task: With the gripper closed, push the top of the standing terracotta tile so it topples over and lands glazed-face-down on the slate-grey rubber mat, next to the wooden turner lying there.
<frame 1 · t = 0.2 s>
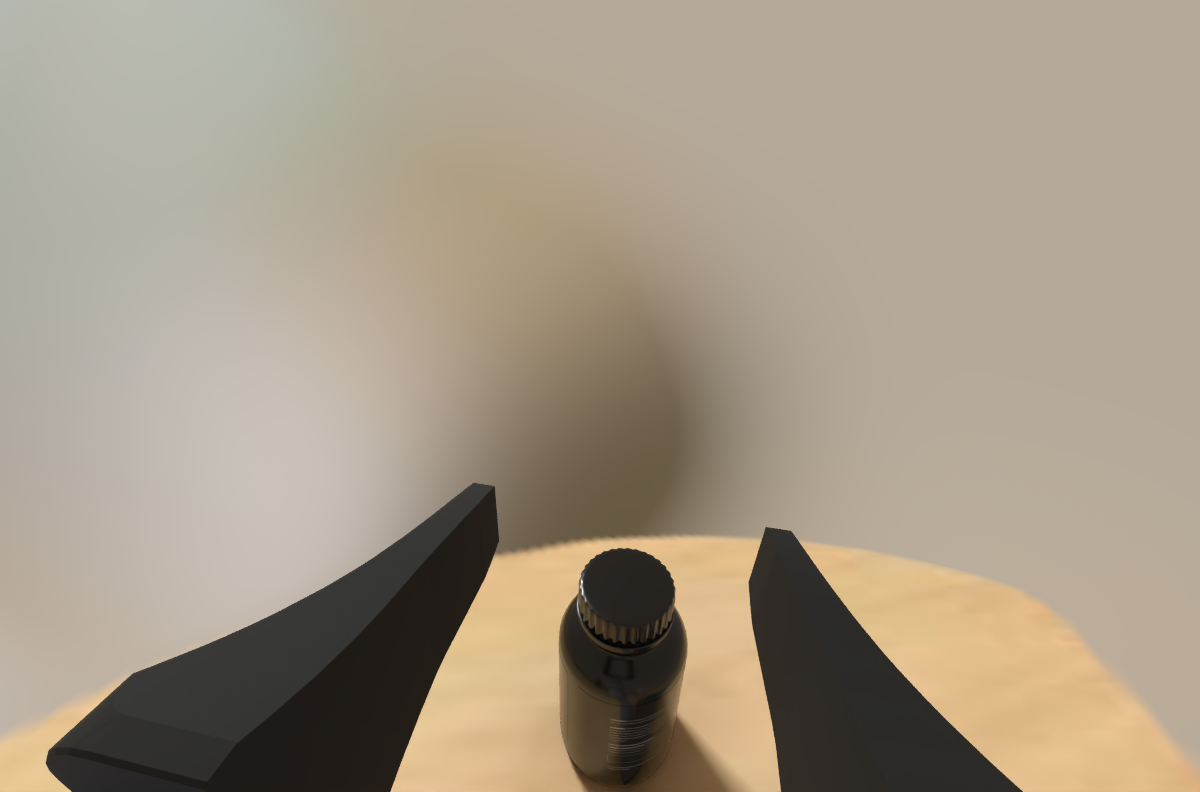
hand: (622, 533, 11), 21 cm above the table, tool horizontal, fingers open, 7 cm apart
supplement bottle: (614, 723, 26), on the table
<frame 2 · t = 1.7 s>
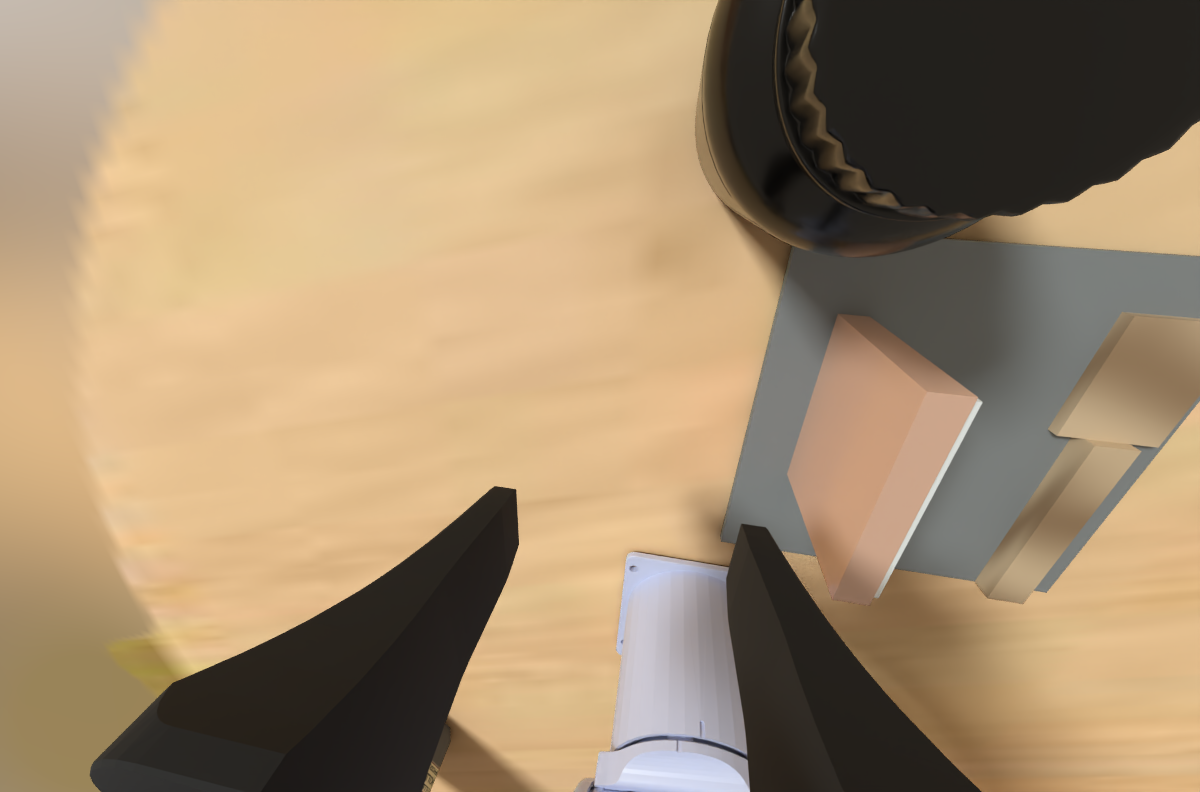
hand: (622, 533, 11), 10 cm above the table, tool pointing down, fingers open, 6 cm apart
mat: (936, 432, 19), on the table
turner: (1069, 473, 19), resting on mat
tile: (827, 403, 19), resting on mat
supplement bottle: (791, 117, 15), on the table
liquor: (402, 713, 40), on the table
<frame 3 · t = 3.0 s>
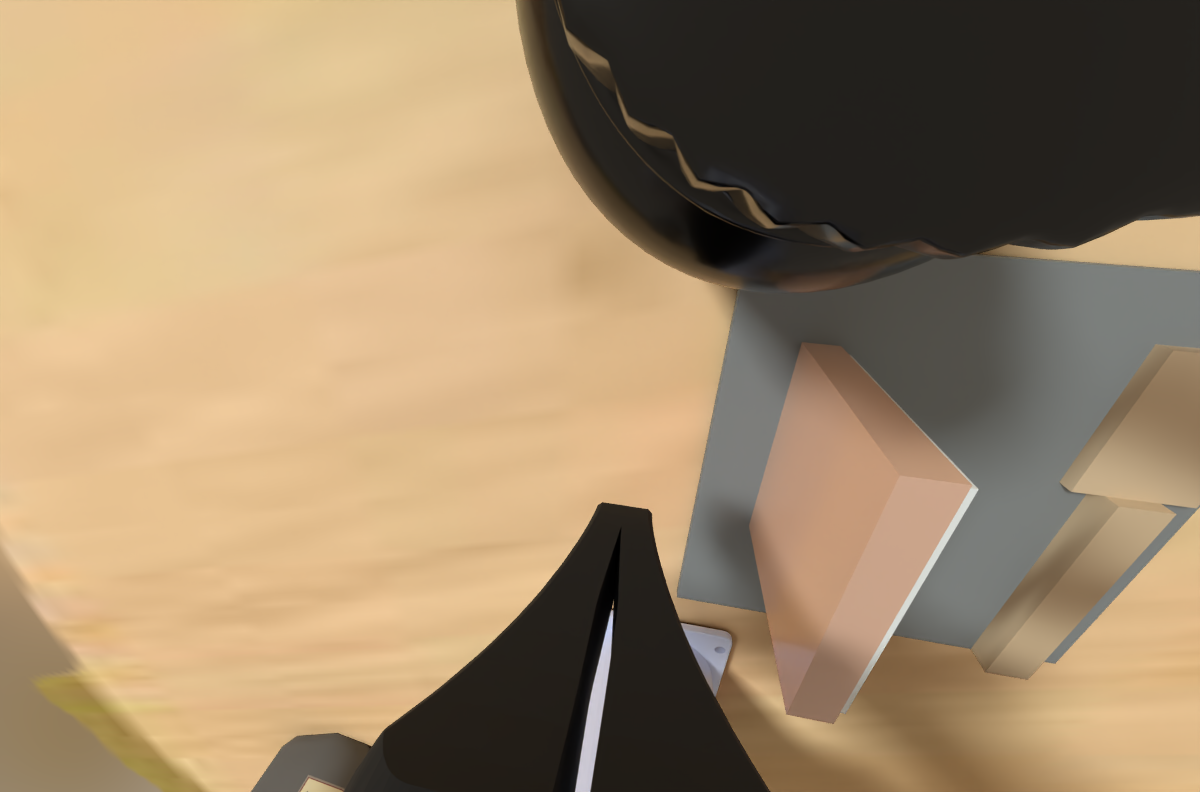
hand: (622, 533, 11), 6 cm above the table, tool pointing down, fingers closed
mat: (924, 482, 16), on the table
turner: (1084, 533, 15), resting on mat
tile: (793, 447, 16), resting on mat
supplement bottle: (737, 97, 12), on the table
liquor: (349, 759, 37), on the table
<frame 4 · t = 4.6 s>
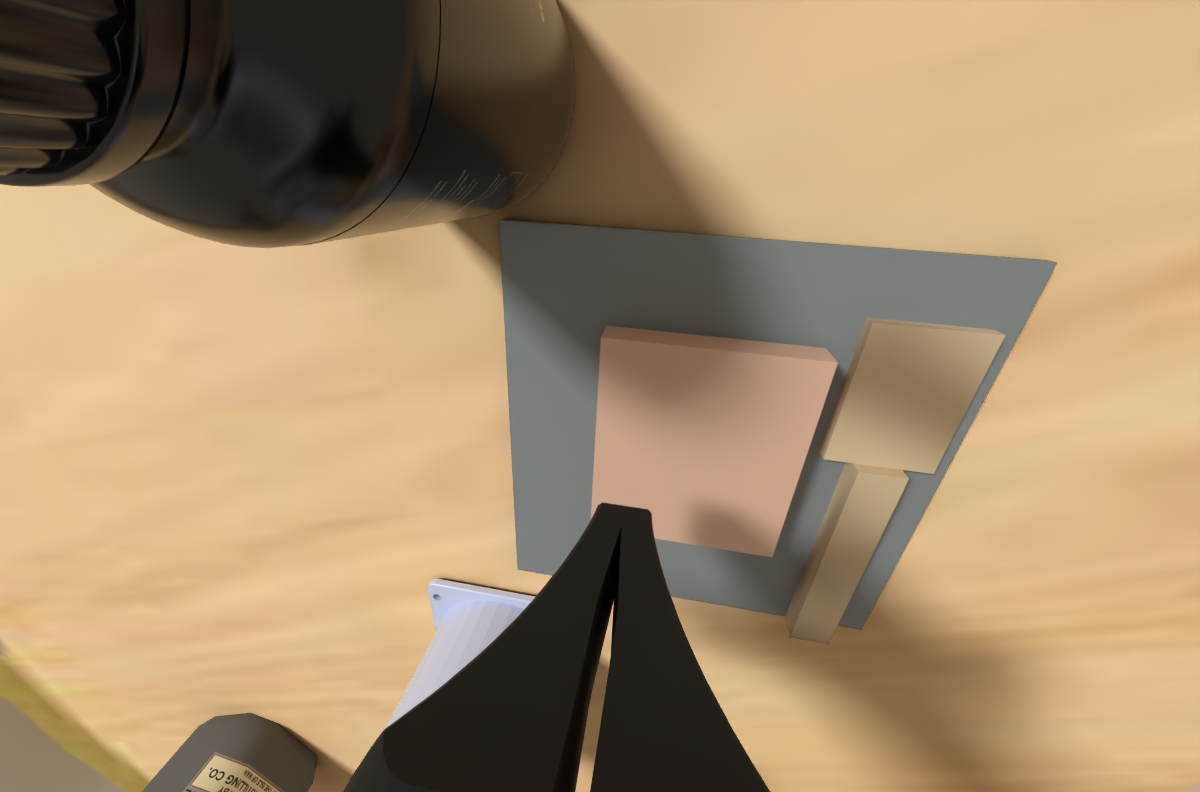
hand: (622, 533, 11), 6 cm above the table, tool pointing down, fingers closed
mat: (710, 453, 17), on the table
turner: (853, 501, 16), resting on mat
tile: (598, 433, 16), point 1 cm above the table, tilted 90°, touching mat
supplement bottle: (467, 87, 13), on the table
liquor: (268, 739, 38), on the table
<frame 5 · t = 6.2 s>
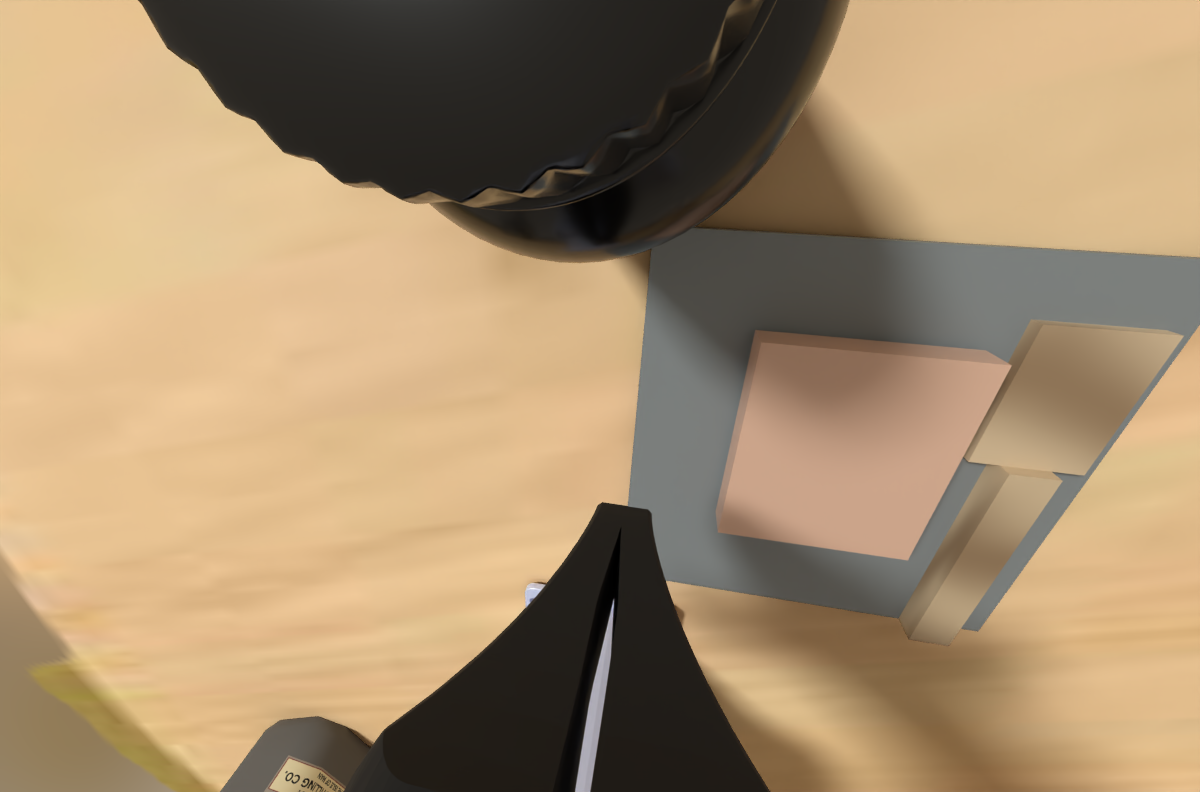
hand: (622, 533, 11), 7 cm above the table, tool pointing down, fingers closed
mat: (839, 456, 17), on the table
turner: (989, 503, 16), resting on mat
tile: (734, 437, 16), point 1 cm above the table, tilted 90°, touching mat
supplement bottle: (632, 93, 13), on the table
liquor: (332, 742, 38), on the table
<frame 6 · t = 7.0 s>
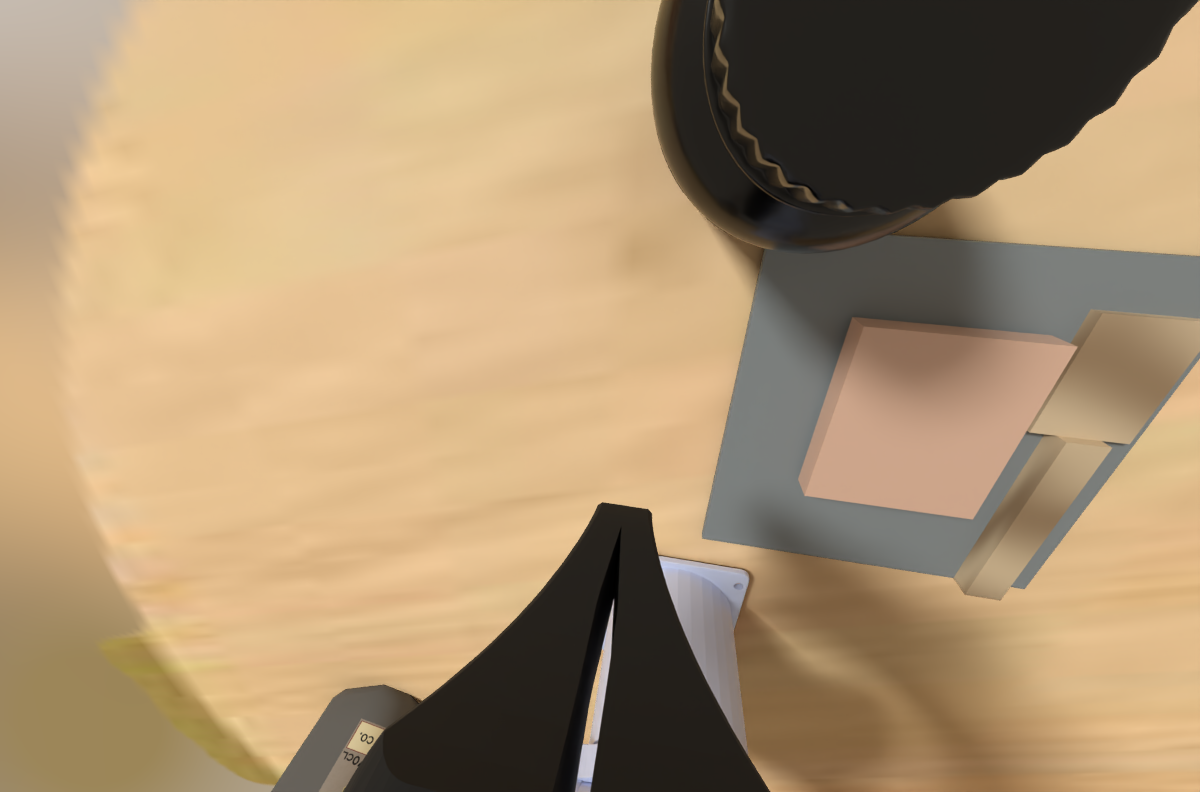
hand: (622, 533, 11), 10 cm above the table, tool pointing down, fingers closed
mat: (912, 430, 19), on the table
turner: (1043, 470, 19), resting on mat
tile: (825, 411, 18), point 1 cm above the table, tilted 90°, touching mat
supplement bottle: (762, 116, 15), on the table
liquor: (392, 711, 40), on the table
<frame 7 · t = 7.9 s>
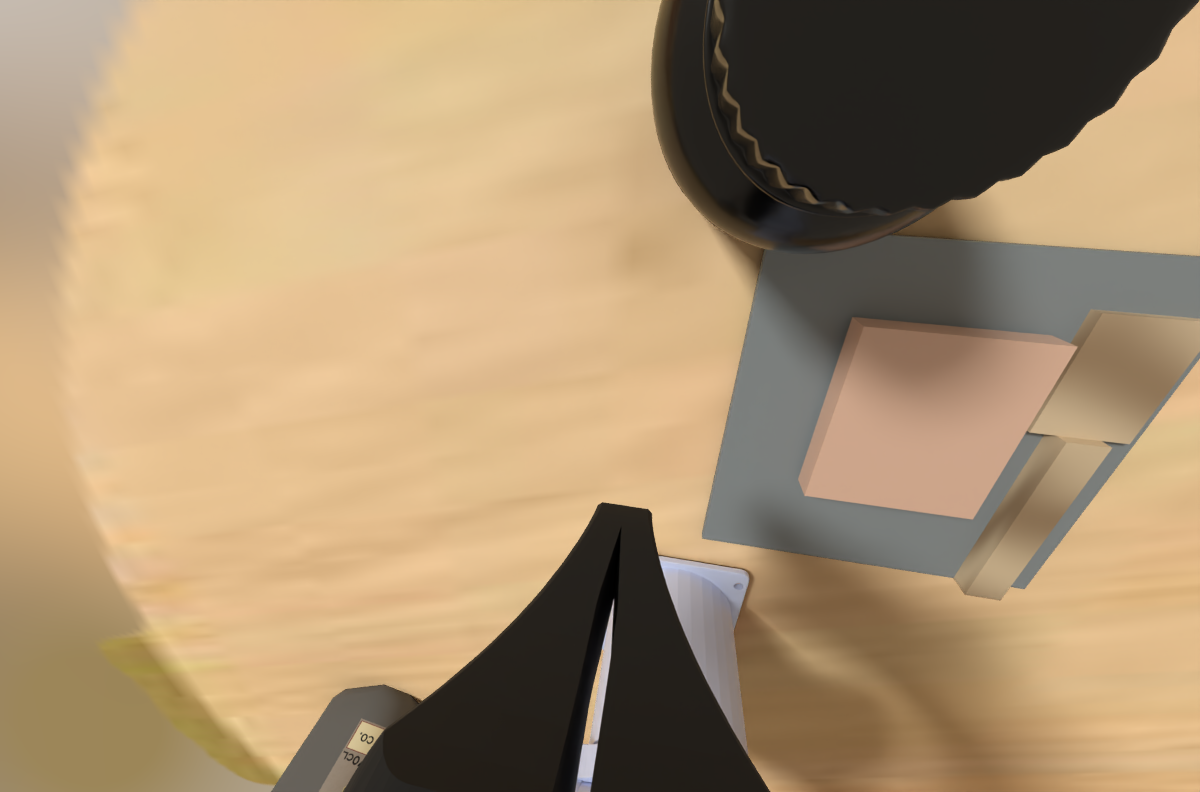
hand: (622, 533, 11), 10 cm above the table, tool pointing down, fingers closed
mat: (912, 430, 19), on the table
turner: (1043, 470, 19), resting on mat
tile: (825, 411, 18), point 1 cm above the table, tilted 90°, touching mat
supplement bottle: (762, 116, 15), on the table
liquor: (392, 711, 40), on the table
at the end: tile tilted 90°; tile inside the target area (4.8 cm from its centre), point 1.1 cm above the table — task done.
